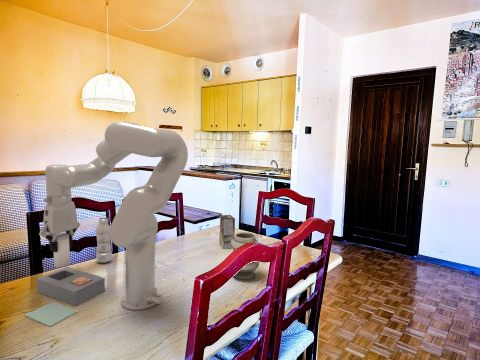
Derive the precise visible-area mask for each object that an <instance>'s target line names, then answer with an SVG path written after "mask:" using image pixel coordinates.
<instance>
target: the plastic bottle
mask: <svg viewBox="0 0 480 360" xmlns="http://www.w3.org/2000/svg"><path fill="white" fill-rule="evenodd" d="M108 223H109V217H99V218H98V225H97V226H96V228H95V236H96V242H97V243H96V244H97V245H96V246H97V247H96V248H97V249H96V256H95V258H96V261H97V262H98V263H99V264H100V263H101V264H104V263H105V264H106V263H109V262H111V260H112V259H113V252H112V247H111V241H112V240H111V237H110V228H111V225H109V224H108Z"/></svg>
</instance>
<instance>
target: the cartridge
mask: <svg viewBox="0 0 480 360" xmlns="http://www.w3.org/2000/svg"><path fill="white" fill-rule="evenodd" d="M56 241H57V245H58V251H57V252H53V264H54V265H53V266H54V267H55V268H63V267H64V268H65V267H69V266H70V265H71V252H70V251H71V250H70V247H69V234H68V233H66V232H61V233H57V236H56Z"/></svg>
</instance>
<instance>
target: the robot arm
mask: <svg viewBox="0 0 480 360" xmlns="http://www.w3.org/2000/svg"><path fill="white" fill-rule="evenodd" d="M188 151H189V150H188V147H187V144H186V142H185V140H184V138H183V136H181V135H180V134H178V133H177V132H176V131H173V130H170V129H161V128H155V127H154V128H152V127H146V126H141V125H140V124H138V123H134V122H129V121H120V120H119V121H114V122H112V123H110V124H108V126H107V127H106V129H105V131H104V139H103V140H102V141H101V142H98V144H97V145H96V147H95V153H96V155H97V157H95V159H93V160H91V161H90V162H89V163H85V164H84V163H83V164H82V163H81V164H73V165H68V164H49V165H47V166H46V167H45V172H44V173H45V187H46V188H45V189H46V190H45V191H46V195H45V196H46V197H45V198H43V202H44V203H46V204H45V205H44V212H43V227H42V228H41V229H40V232H39V233H38V235H39V236H40V237H42V238H44V239H46V240H47V241H48V242H49V245H48V246H49V251H50V252H52V253H54V252H57V251H58V245H57V241H56V236H57V234H59V233H68V234H69V247H70V248H73V244H74V241H73V240H74V239H73V237H74V236H75V233H76V231H77V230H78V229H79V227H80V226H81V224H80V223H79V221H78V215H77V209H76V205H75V202H74V201H72V189H73V188H79V187H83V186H89V185H93V184H96V183H98V182H99V181H101V180H102V179H104V178H105V177H106V176H108V175H109V174H111V172H113V170H114V168H115V167H116V165H117V164H119V163H120V162H121V161H122V160H124V159H126V158H127V157H129V156H130V155H132V154H134V155H138V156H142V157H148V158H161V159H160V160H159V162H158V163H157V164H156V166H155V167H154V168H153V169H152V170H153V171H151V172H152V173H151V175H150V177H149V179H148V180H147V181H146V183H145V184H144V185H141V186H138V187H135V188H132V189H131V190H130V191H129V192H128V193H126V195H125V197H124V198H123V199H122V202H121V204H120V205H119V208H118V209H117V212H116V214H115V216H114V218H113V220H112V223H111V225H110V227H111V228H110V237H111V240H110V241H112V243H113V244H114V245H115V246H116V247H119V248H124V249H125V294H124V295H123V296H122V297H121V300H120V305H121V306H122V307H123V308H124V309H127V310H131V311H140V310H146V309H149V308H151V307H154V306H155V305H160V304H161V302H162V299H163V297H164V296H163V294H160V293H159V292H158V287H156V284H155V283H156V279H155V278H156V277H155V276H156V244H157V243H156V241H157V236H158V235H157V234H158V228H159V226H158V224H159V223H158V220H157V217H156V216H155V215H156V214H157V213H159V212H161V211H162V210H164V209H165V208H166V207H167V204H168V202H169V200H170V197H171V196H172V194H173V192H174V190H175V189H176V186H177V184H178V182H179V179H180V178H181V176H182V174H183V172H184V171H185V168H186V166H187V162H188V158H189V157H188V156H189V152H188Z"/></svg>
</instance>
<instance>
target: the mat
mask: <svg viewBox="0 0 480 360" xmlns="http://www.w3.org/2000/svg"><path fill="white" fill-rule="evenodd" d="M78 313H79V312H78V310H76V309H74V308H71V307H69V306H65V305H62V304H60V303H57V302H55V301H52V302H50V303H47V304H46V305H43V306H41V307H38V308H36V309H35V310H31V312H27V313H26V314H24V316H25V317H26V318H29V320H30V319H31V320H33V321H35V322H37V323H39V324H42V325H45V327H46V326H47V327H48V328H52V327H54V326H55V325H57V324H59V323H61V322H63V321H65V320H66V319H68V318H71V316H73V315H75V314H78Z"/></svg>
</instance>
